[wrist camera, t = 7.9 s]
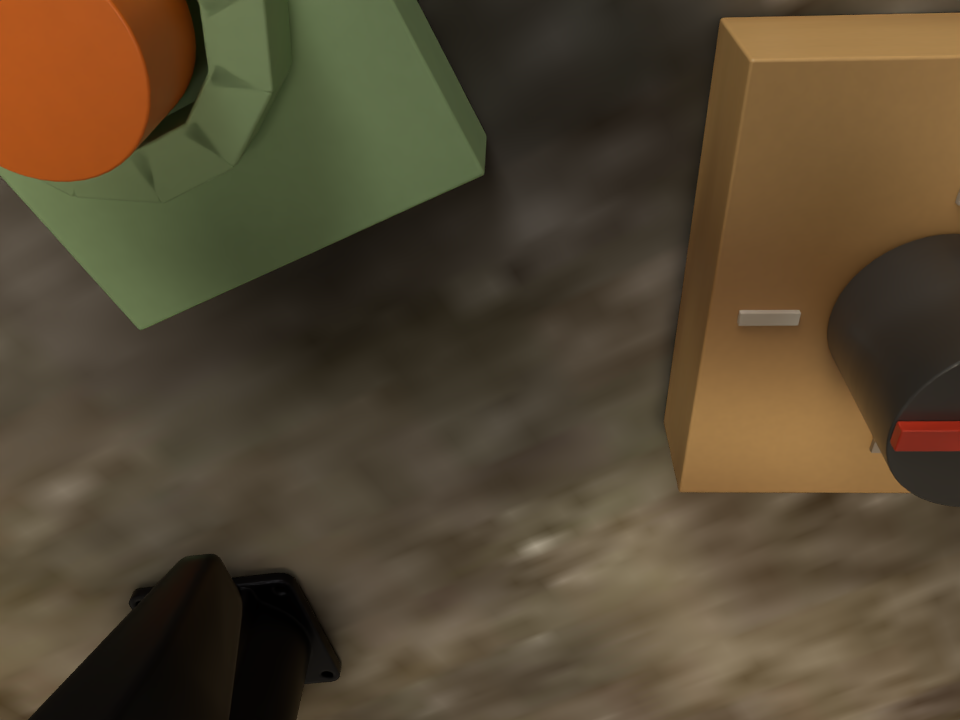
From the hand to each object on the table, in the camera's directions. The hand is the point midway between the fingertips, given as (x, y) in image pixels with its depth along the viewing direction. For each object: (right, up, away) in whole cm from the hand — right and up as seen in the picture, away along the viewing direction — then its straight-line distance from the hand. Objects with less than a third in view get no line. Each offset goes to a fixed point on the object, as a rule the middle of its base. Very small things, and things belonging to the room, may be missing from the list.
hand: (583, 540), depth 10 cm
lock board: (+9, +5, +12) cm, 16 cm away
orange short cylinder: (-9, +8, +6) cm, 13 cm away
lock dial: (+9, +3, +10) cm, 14 cm away
